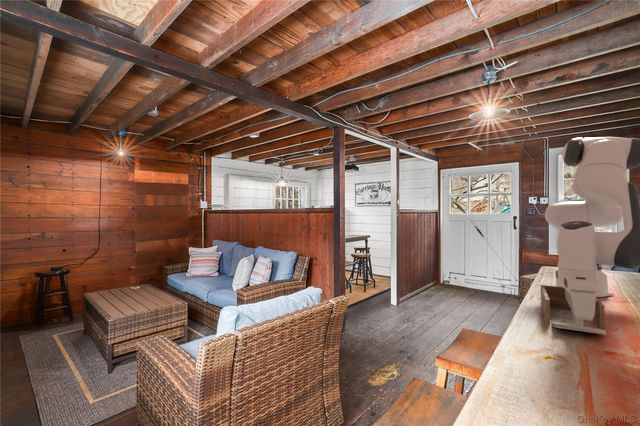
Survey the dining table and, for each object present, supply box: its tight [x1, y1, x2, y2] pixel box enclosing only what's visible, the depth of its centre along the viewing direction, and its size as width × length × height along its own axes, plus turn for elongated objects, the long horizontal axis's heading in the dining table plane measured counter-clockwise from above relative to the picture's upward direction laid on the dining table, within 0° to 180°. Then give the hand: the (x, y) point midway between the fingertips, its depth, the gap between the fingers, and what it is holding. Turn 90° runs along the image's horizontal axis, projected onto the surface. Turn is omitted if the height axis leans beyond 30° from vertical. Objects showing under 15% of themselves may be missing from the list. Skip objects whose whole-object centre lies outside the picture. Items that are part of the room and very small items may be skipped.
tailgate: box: [550, 321, 607, 335], centre depth 90 cm, size 1×11×8 cm
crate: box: [540, 284, 606, 330], centre depth 102 cm, size 20×14×8 cm
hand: (578, 325), depth 88 cm, fingers closed
